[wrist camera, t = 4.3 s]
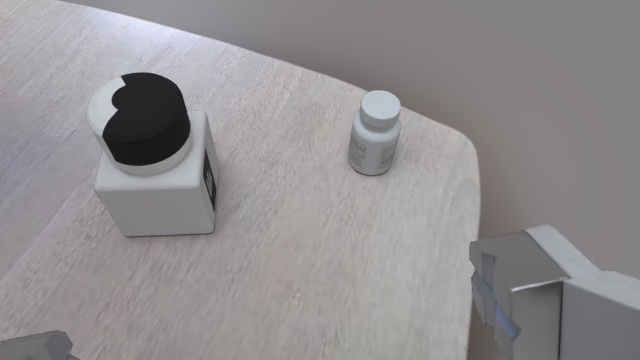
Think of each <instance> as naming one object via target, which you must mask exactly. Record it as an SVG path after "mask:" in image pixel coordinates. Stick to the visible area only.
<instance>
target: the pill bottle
mask: <svg viewBox="0 0 640 360" xmlns="http://www.w3.org/2000/svg"><path fill="white" fill-rule="evenodd" d="M400 110H401V104H400V101H399V100H398V99H397V97H396V96H394V95H393V94H391V93H389V92H386V91H378V90H377V91H372V92H369V93H367V94H366V95H365V96H364V97H363V99H362V101H361V106H360V111H358V112H357V114H356V115H355V117H354V119H353V124H352V130H351V138H350V145H349V153H348V158H349V162H350V164H351V165H352V167H353V168H354V169H355V170H357V171H358V172H360V173H362V174H366V175H379V174H381V173H383V172H385V171H386V170H387V169H388V168H389V167H390V166H391V163H392V160H393V157H394V153H395V149H396V145H397V142H398V138H399V134H400V130H401V124H400V121H399V115H400Z"/></svg>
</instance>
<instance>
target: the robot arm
mask: <svg viewBox="0 0 640 360" xmlns="http://www.w3.org/2000/svg"><path fill="white" fill-rule="evenodd" d="M469 256H470V261H471V262H472V264H473V265H474V267H475V268H476V271H475V272H474V274H473V275H472V277H471V284H472V293H473V297H474V300H475V304H476V307H477V309H478V311H479V314H480V316H481V318H482V319H483V321H484V323H485V325H487V326H489V327H491V328H493V329H495V340H496V344H497V345H498V347H499V348H500V350H501V352H502V354H503V355H504V357H505V359H506V360H640V280H639V279H636V278H633V277H630V276H627V275H624V274H621V273H617V272H614V271H612V270H609V271H604V272H602V271H601V270H600V269H599V268H597V267H596V266H595V265H594V264H593V263H592V262H591V261H590V260H589V259H587V258H586V257H585V256H584V255H583V254H582V253H581V252H580V251H579V250H578V249H577V248H576V247H574V246H573V245H572V244H571V243H570V242H569V241H568V240H567V239H565V238H564V237H563V236H562V235H561V234H560V233H559V232H558V231H557V230H556V229H555V228H554V227H553V226H551V225H548V224H543V225H539V226H535V227H532V228H527V229H523V230H521V231H519V232H514V233H509V234H505V235H500V236H496V237H491V238H487V239H482V240H477V241H473V242H470V247H469ZM72 346H73V344H72V342H71V341H70V339H69V338H68V336H67V334H66V333H65V332H62V331H58V330H55V331H50V332H45V333H39V334H34V335H29V336H24V337H19V338H13V339H8V340H4V341H0V360H80V359H78V358H76V357H74V356H72V355H71V354H70V353H71V350H72Z"/></svg>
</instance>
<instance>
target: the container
mask: <svg viewBox="0 0 640 360" xmlns="http://www.w3.org/2000/svg"><path fill="white" fill-rule="evenodd" d="M86 116H87V121H88V123H89V125H90V127H91V129H92V131H93V133H94V134H95V136H96V138H97V140H98V141H99V143H100V145H101V147H102V148H103V151H102V155H101V159H100V163H99V166H98V170H97V174H96V178H95V182H94V185H93V186H94V190H95V192H96V193H97V195H98V196H99V198H100V199H101V201H102V202H103V204H104V205H105V207H106V208H107V210H108V211H109V213H110V214H111V216H112V217H113V219H114V220H115V222H116V223H117V225H118V226H119V228H120V229H121V231H122V232H123V234H124V235H125V236H153V235H177V234H202V233H212V232H213V231H214V224H215V211H216V198H217V185H218V171H219V163H218V159H217V155H216V151H215V147H214V142H213V138H212V134H211V130H210V126H209V122H208V118H207V114H206V112H204V111H187V109H186V106H185V103H184V99H183V96H182V93H181V91H180V89H179V88H178V86H177V85H176V84H175V83H174V82H172V81H171V80H169V79H167V78H165V77H163V76H160V75H157V74H153V73H131V74H126V75H122V76H119V77H117V78H114V79H112V80H110V81H109V82H107V83H105V84H104V85H103V86H102V87H100V88H99V89H98V90H97V91H96V92H95V94H94V95H93V97H92V98H91V100H90V102H89V104H88V107H87V112H86Z"/></svg>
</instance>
